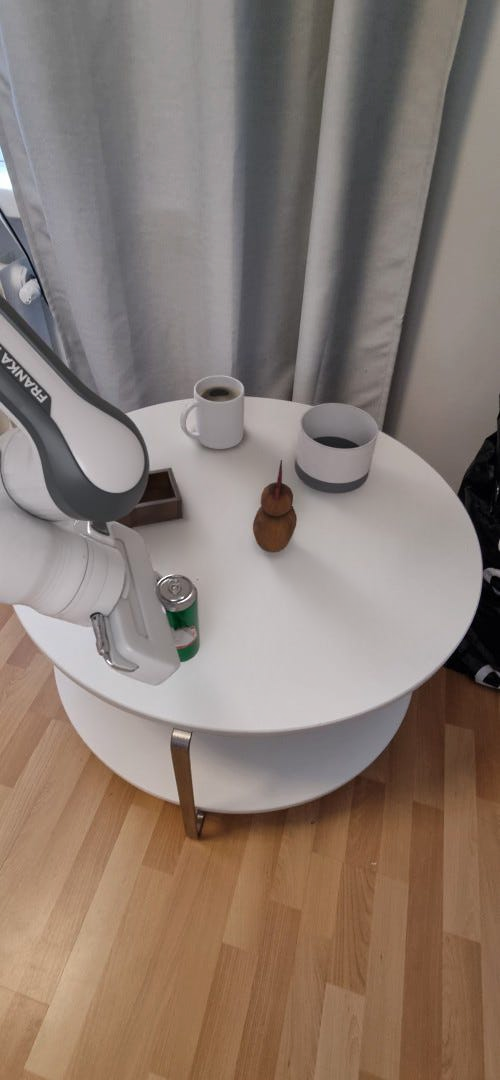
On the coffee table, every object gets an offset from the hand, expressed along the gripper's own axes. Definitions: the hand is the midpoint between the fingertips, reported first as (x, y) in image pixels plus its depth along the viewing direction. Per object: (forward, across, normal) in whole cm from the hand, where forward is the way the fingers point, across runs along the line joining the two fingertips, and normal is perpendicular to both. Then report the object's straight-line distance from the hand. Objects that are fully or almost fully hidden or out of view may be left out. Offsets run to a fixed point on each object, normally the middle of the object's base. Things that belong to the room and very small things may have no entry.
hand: (182, 615), depth 70 cm
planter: (+30, +28, -17) cm, 45 cm away
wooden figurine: (+19, +16, -6) cm, 26 cm away
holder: (+5, +30, +7) cm, 31 cm away
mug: (+18, +45, -6) cm, 49 cm away
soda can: (+4, 0, +5) cm, 7 cm away
